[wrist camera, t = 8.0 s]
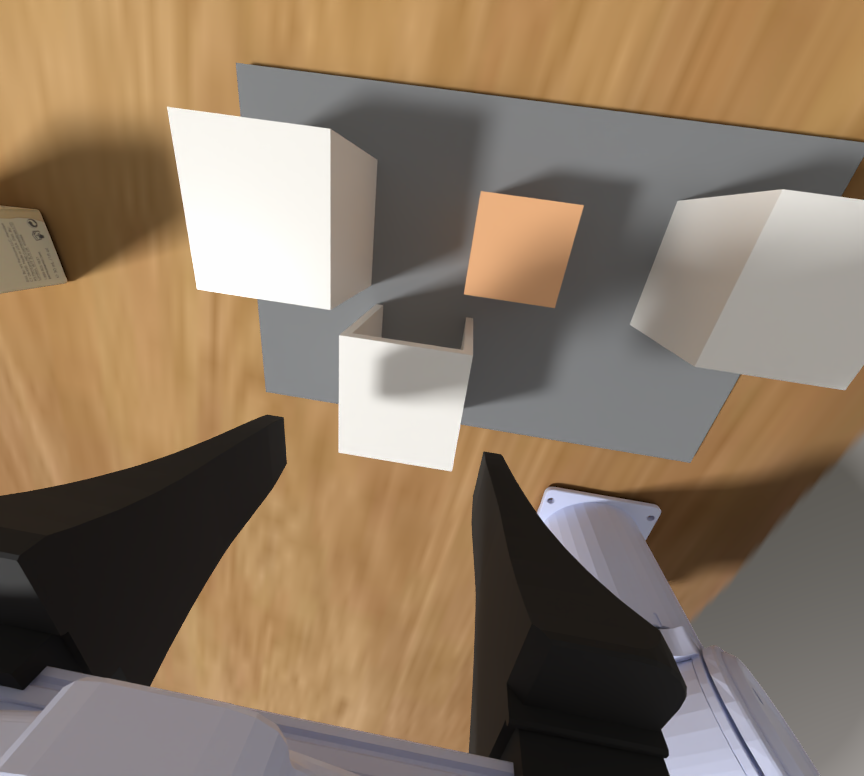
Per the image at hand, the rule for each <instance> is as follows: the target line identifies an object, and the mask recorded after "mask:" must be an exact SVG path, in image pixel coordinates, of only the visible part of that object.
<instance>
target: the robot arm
mask: <svg viewBox="0 0 864 776" xmlns="http://www.w3.org/2000/svg"><path fill="white" fill-rule="evenodd" d="M286 464H287V460H286V445H285V431H284V417H278V416H272V415H265V416H262V417H259V418H257V419H255V420H252V421H250V422H248V423H245V424H243V425H241V426H239V427H236V428H234V429H232V430H230V431H227V432H225V433H223V434H220V435H218V436H216V437H214V438H211V439H209V440H207V441H204V442H202V443H199V444H197V445H194V446H192V447H189V448H187V449H184V450H182V451H179V452H177V453H174V454H171V455H168V456H166V457H163V458H160V459H157V460H154V461H151V462H148V463H144V464H141V465H138V466H135V467H132V468H128V469H124V470H120V471H117V472H113V473H109V474H106V475H102V476H98V477H94V478H90V479H86V480H82V481H77V482H73V483H68V484H64V485H59V486H54V487H49V488H44V489H39V490H33V491H28V492H22V493H16V494H9V495H3V496H0V776H821V775H820V774H819V772H818V770H817V769H816V767H815V766H814V764H813V762H812V761H811V759H810V758H809V756H808V755H807V753H806V752H805V750H804V749H803V747H802V745H801V744H800V742H799V741H798V739H797V738H796V736H795V735H794V733H793V732H792V730H791V729H790V727H789V726H788V724H787V723H786V721H785V720H784V718H783V717H782V715H781V714H780V712H779V711H778V709H777V708H776V706H775V705H774V704H773V702H772V701H771V699H770V698H769V697H768V695H767V694H766V692H765V691H764V690H763V688H762V687H761V685H760V684H759V683H758V681H757V680H756V679H755V677H754V676H753V675H752V673H751V672H750V671H749V670H748V669H747V667H746V666H745V665H744V664H743V663H742V662H741V661H740V660H739V659H738V658H737V657H735V656H733V655H731V654H729V653H727V652H724V651H723V650H722V649H721V648H719V647H718V646H710V647H706V648H704V647H703V646H702V644H701V643H700V641H699V639H698V637H697V635H696V633H695V631H694V630H693V628H692V626H691V624H690V622H689V620H688V619H687V617H686V615H685V613H684V611H683V609H682V607H681V606H680V604H679V602H678V600H677V598H676V596H675V595H674V593H673V591H672V589H671V587H670V585H669V583H668V582H667V580H666V578H665V576H664V574H663V572H662V570H661V569H660V567H659V565H658V563H657V561H656V559H655V558H654V556H653V554H652V552H651V550H650V548H649V546H648V545H647V543H646V539H647V537H648V535H649V534H650V532H651V530H652V528H653V526H654V525H655V523H656V521H657V519H658V518H659V516H660V514H661V510H660V508H659V507H658V506H657V505H655V504H651V503H645V502H639V501H633V500H628V499H622V498H616V497H610V496H604V495H599V494H593V493H587V492H581V491H576V490H570V489H564V488H558V487H548V488H547V489H546V490H545V492H544V495H543V498H542V500H541V503H540V506H539V509H538V512H536V511H535V510H534V508H533V507H532V505H531V504H530V502H529V501H528V499H527V498H526V496H525V495H524V493H523V491H522V490H521V488H520V487H519V485H518V483H517V482H516V480H515V478H514V476H513V475H512V473H511V471H510V469H509V467H508V466H507V464H506V462H505V460H504V458H503V456H502V455H501V454H495V453H489V452H483V456H482V461H481V465H480V469H479V473H478V478H477V482H476V486H475V490H474V494H473V506H472V538H473V554H474V569H475V585H476V612H475V642H474V668H473V688H472V708H471V725H470V742H469V753H465V752H460V751H455V750H450V749H445V748H440V747H436V746H431V745H426V744H421V743H416V742H411V741H407V740H402V739H397V738H392V737H387V736H382V735H378V734H373V733H368V732H363V731H358V730H353V729H349V728H344V727H339V726H334V725H329V724H325V723H320V722H315V721H310V720H305V719H300V718H296V717H291V716H286V715H281V714H276V713H271V712H267V711H262V710H257V709H252V708H247V707H242V706H238V705H234V704H231V703H226V702H221V701H217V700H212V699H207V698H202V697H197V696H192V695H188V694H183V693H178V692H173V691H168V690H163V689H159V688H154V687H150V685H151V683H152V681H153V679H154V677H155V675H156V673H157V672H158V670H159V668H160V666H161V664H162V662H163V660H164V658H165V656H166V654H167V652H168V650H169V648H170V646H171V644H172V642H173V641H174V639H175V637H176V635H177V633H178V631H179V630H180V628H181V626H182V624H183V622H184V620H185V619H186V617H187V615H188V613H189V611H190V610H191V608H192V606H193V604H194V603H195V601H196V599H197V598H198V596H199V594H200V592H201V591H202V589H203V587H204V586H205V584H206V582H207V580H208V579H209V577H210V576H211V574H212V572H213V571H214V569H215V567H216V566H217V564H218V563H219V561H220V559H221V558H222V556H223V554H224V553H225V551H226V550H227V549H228V547H229V546H230V544H231V543H232V541H233V540H234V539H235V537H236V536H237V535H238V533H239V532H240V531H241V530H242V528H243V527H244V526H245V524H246V523H247V522H248V520H249V519H250V518H251V516H252V515H253V514H254V513H255V511H256V510H257V509H258V507H259V506H260V505H261V503H262V502H263V501H264V499H265V498H266V497H267V495H268V494H269V493H270V491H271V490H272V488H273V487H274V485H275V484H276V482H277V480H278V478H279V477H280V475H281V473H282V471H283V469H284V468H285V466H286ZM549 498H553V499H551V500H548V499H549ZM648 516H650V517H648Z"/></svg>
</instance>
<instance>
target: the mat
mask: <svg viewBox="0 0 864 776" xmlns="http://www.w3.org/2000/svg"><path fill="white" fill-rule="evenodd" d="M236 70H237V81H238V92H239V103H240V113H241V117H246V118H253V119H261V120H268V121H276V122H283V123H291V124H298V125H306V126H313V127H321V128H328V129H331V130H333V131H335V132H336V133H338V134H339V135H341V136H342V137H344V138H345V139H347V140H348V141H350V142H351V143H353V144H354V145H356V146H357V147H359V148H360V149H362V150H363V151H365V152H366V153H368V154H369V155H371V156H372V157H374V158H375V159H377V180H376V200H375V220H374V240H373V260H372V280H371V286H369V287H368V288H366V289H364V290H363V291H361V292H359V293H358V294H356V295H355V296H353V297H351V298H350V299H348V300H346V301H345V302H343V303H341V304H340V305H338V306H336V307H335V308H333V309H331V310H327V309H321V308H314V307H308V306H301V305H295V304H289V303H282V302H276V301H269V300H263V299H258V310H259V320H260V331H261V342H262V353H263V364H264V375H265V386H266V392H270V393H276V394H282V395H288V396H294V397H300V398H306V399H312V400H318V401H324V402H330V403H336V404H339V335H340V334H341V333H342V332H343V331H345V330H346V329H347V328H348V327H350V326H351V325H352V324H353V323H354V322H356V321H357V320H358V319H359V318H360V317H362V316H363V315H364V314H365V313H366V312H368V311H369V310H370V309H371V308H372V307H374V306H375V305H376V304H380V305H383V320H382V337H381V338H387V339H394V340H401V341H407V342H414V343H420V344H427V345H434V346H440V347H447V348H454V349H460V350H461V346H462V340H463V334H464V328H465V322H466V317H468V318H473V359H472V364H471V369H470V375H469V380H468V386H467V391H466V397H465V402H464V408H463V413H462V418H461V424H462V425H468V426H474V427H480V428H486V429H492V430H498V431H503V432H509V433H515V434H521V435H527V436H533V437H539V438H545V439H551V440H557V441H563V442H569V443H575V444H581V445H587V446H593V447H599V448H605V449H611V450H617V451H623V452H629V453H635V454H641V455H647V456H653V457H659V458H665V459H671V460H677V461H683V462H689V463H690V462H691V461H692V459H693V457H694V455H695V453H696V452H697V450H698V448H699V446H700V445H701V443H702V441H703V439H704V438H705V436H706V434H707V432H708V431H709V429H710V427H711V425H712V423H713V422H714V420H715V418H716V416H717V415H718V413H719V411H720V409H721V408H722V406H723V404H724V402H725V401H726V399H727V397H728V395H729V393H730V392H731V390H732V388H733V386H734V385H735V383H736V381H737V379H738V378H739V376H740V374H738V373H731V372H725V371H718V370H712V369H705V368H699V367H694V366H693V365H691V364H689V363H688V362H686V361H685V360H683V359H682V358H680V357H679V356H677V355H676V354H674V353H673V352H671V351H669V350H668V349H666V348H665V347H663V346H662V345H660V344H659V343H657V342H656V341H654V340H652V339H651V338H649V337H648V336H646V335H645V334H643V333H642V332H640V331H639V330H637V329H636V328H634V327H632V326H631V325H630V322H631V320H632V317H633V315H634V312H635V310H636V307H637V304H638V302H639V299H640V297H641V294H642V291H643V289H644V286H645V284H646V281H647V279H648V276H649V273H650V271H651V268H652V266H653V263H654V260H655V258H656V255H657V253H658V250H659V248H660V245H661V242H662V240H663V237H664V235H665V232H666V229H667V227H668V224H669V222H670V219H671V216H672V214H673V211H674V209H675V206H676V204H677V201H681V200H690V199H699V198H708V197H717V196H726V195H735V194H744V193H753V192H762V191H771V190H780V189H785V190H793V191H800V192H808V193H815V194H823V195H830V196H838V197H841V196H842V194H843V192H844V190H845V189H846V187H847V185H848V183H849V182H850V180H851V178H852V176H853V175H854V173H855V171H856V169H857V168H858V166H859V164H860V162H861V160H862V159H863V157H864V143H863V142H856V141H848V140H840V139H832V138H824V137H816V136H808V135H800V134H793V133H785V132H777V131H769V130H761V129H753V128H745V127H737V126H729V125H722V124H714V123H706V122H698V121H690V120H682V119H674V118H666V117H659V116H651V115H643V114H635V113H627V112H619V111H611V110H603V109H595V108H588V107H580V106H572V105H564V104H556V103H548V102H540V101H532V100H525V99H517V98H509V97H501V96H493V95H485V94H477V93H469V92H461V91H454V90H446V89H438V88H430V87H422V86H414V85H406V84H398V83H391V82H383V81H375V80H367V79H359V78H351V77H343V76H335V75H327V74H320V73H312V72H304V71H296V70H288V69H280V68H272V67H264V66H257V65H249V64H241V63H236ZM481 191H484V192H492V193H499V194H506V195H513V196H520V197H528V198H535V199H542V200H549V201H557V202H564V203H571V204H578V205H584V207H583V210H582V214H581V217H580V221H579V224H578V228H577V231H576V235H575V239H574V242H573V246H572V249H571V253H570V256H569V260H568V263H567V267H566V270H565V274H564V277H563V281H562V284H561V288H560V291H559V295H558V298H557V302H556V305H555V308H551V307H544V306H538V305H531V304H524V303H518V302H511V301H505V300H498V299H491V298H485V297H478V296H472V295H465V294H464V290H465V283H466V276H467V270H468V264H469V258H470V252H471V246H472V240H473V234H474V228H475V222H476V216H477V210H478V204H479V198H480V193H481Z"/></svg>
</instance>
